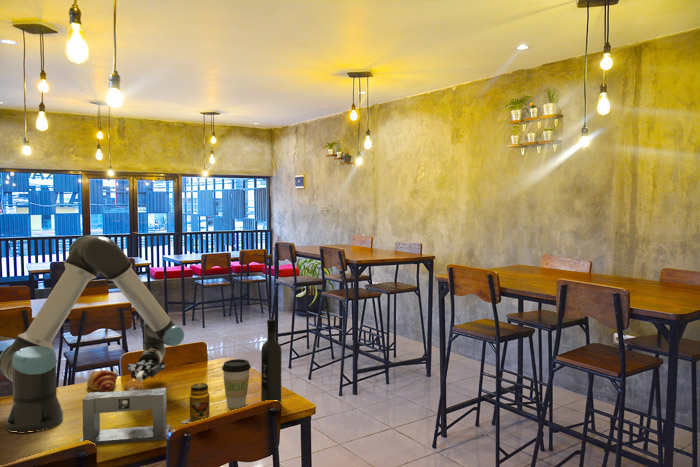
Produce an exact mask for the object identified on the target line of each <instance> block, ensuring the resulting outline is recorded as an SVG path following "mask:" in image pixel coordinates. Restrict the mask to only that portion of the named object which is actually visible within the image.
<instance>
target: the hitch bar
mask: <svg viewBox="0 0 700 467" xmlns="http://www.w3.org/2000/svg"><path fill="white" fill-rule="evenodd" d="M122 399H130V402H129V404H128V406H126V407H122V406H121V404H120V403H121V401H122ZM148 410H152V425H148V426H136V427H123V428H110V429H108V428H107V429H101V425H100V424H101V419H100V418H101V415H100V414H103V413H104V414H105V413H120V412H131V411H133V412H136V411H148ZM170 431H171V424H167V387H159V388H157V387H156V388H150V389H142V390H131V391H125V390H118V391H117V390H116V391H115V390H114V391H107V392H102V391H95V392H93V391H92V392H91V391H90V392H87V394H86V395H85V396H84V398H83V399H82V437H81V438H80V439H79V441H85V440H89V441H91V442H93V443H95V444H96V445H95V446H103V445H104V446H105V444H107V445H117V444H129V443H142V442H152V441H154V442H155V441H166V437H167V433H168V432H169V433H170ZM167 438H168V437H167Z"/></svg>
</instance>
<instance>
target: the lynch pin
mask: <svg viewBox="0 0 700 467" xmlns="http://www.w3.org/2000/svg"><path fill="white" fill-rule="evenodd" d="M143 387H144V385H143V382H142V383H141V381H139V380H137V379H135V378H132V379H130V380H128V381H127V383H126V384H125V386H124V391H131V390H144V389H143ZM129 403H130V399H122V401H121V403H120V404H121V406H122V407H126V406H128V404H129Z"/></svg>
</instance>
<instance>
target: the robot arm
mask: <svg viewBox="0 0 700 467" xmlns="http://www.w3.org/2000/svg"><path fill="white" fill-rule="evenodd" d="M69 246H70V247H69V249H68V255H67V258H65V261H64V263H63V265H64V268H65V270H64V272H63V273H62V274H61V276H60V278H59V279H58V281H57V282H56V283H55V285H54V287H53V289H51V292H50V293H49V295H48V297H47V298H46V300H45V301H44V303H43V304H42V306H41V308H40V309H39V311H38V313H36V315H35V317H34V319H33V320H32V322H30V325H29V326H28V328H27V329H26V331H25V332H24V333H23V332H22V333H19V334H18V335H17V336H16V338H15V339H14V341H13V343H11V344H10V345H8V346H7V347H5V348H4V349H3V351H2V352H1V353H0V372H1V374H2V375H3V376H4V377H5V378H6V379H8V380H9V381H11V382H12V397H13V398H12V404H11V409H10V411H9V414H8V417H7V420H6V430H7V429H8V430H10V431H17V432H28V431H37V430H42V429H45V430H47V429H46V428H49V427H51V428H53V427H52V426H54V427H56V426H57V425H56V424H58V423H59V424H60V423H62V422H61V421H63V419H64V412H63V409H62V407H61V404H60V402H59V399H58V397H57V362H58V361H57V360H58V359H57V356H56V354H57V353H56V351H55V349H54V347H53V344H52V342H53V341H54V339H55V337H56V336H57V334H58V332H59V331H60V329H61V328H62V326H63V324H64V323H65V320H66V319H67V318H68V316H69V314H70V313H71V311H72V310H73V308H74V306H75V305H76V304H77V302H78V300H79V298H80V297H81V295H82V293H83V292H84V290H85V288H86V286H87V285H88V283H89V282H90V281H92V280H94V279H97V277H98V276H99V274H102V275H103V276H104V277H105V278H106V280H107V281H111V282H113V284H114V285H115V286H116V287H117V288H118V290H119V291H120V292H121V293H122V295H123V296H124V297H125V298H126V300H127V301H128V302H129V303H130V304H131V306H132V307H133V308H134V310H135V311H136V312H137V313H138V314H139V316H140V317H141V318H142V320H143V353H141V356H140V357H139V359H138V361H137V362H136V363H135V364H134V363H128V364H127V366H128V367H127V370H128V372H129V373H130V377H131V379H137V380H139V381H141V383H142V384H143V381H144V380H147V378H149V377H150V378H153V377H155V376H156V375H158V374H159V373H160V372H162V371H164V370H165V369H166V362H165V361H163V359H164V358H165V355H166V347H165V345H166V346H170V347H176V346H179V345H180V344H181V343H182V342H183V340H184V338H185V332H184V329H183V328H181V326H178V325H177V324H175V322H174V321H173V320H172V319H171V318H170V316H169V315H168V314H167V312H166V311H165V310H164V308H163V307H162V305H160V303H159V301H158V300H156V298H155V296H154V295H153V294H152V293H151V291H150V290H149V289H148V287H146V285H145V284H144V282H143V281H142V280H141V278H140V277H139V276H138V274H137V273H136V272H135V271H134V269H133V268H132V267H133V263H132V262H131V260H130V259H129V257H128V256H127V255H126V253H124V251H123V250H122V249H121V247H120V246H119V245H118V244H117V243H116V242H115V241H114V240H112V239H111V238H108V237H105V236H97V235H84V236H80V237H78V238H77V239H75V240H74V241H73V242H72V243H71V244H70V245H69ZM59 424H58V425H59ZM55 425H56V426H55ZM49 429H50V428H49ZM8 430H7V431H8ZM42 431H43V430H42ZM37 432H38V431H37Z"/></svg>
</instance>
